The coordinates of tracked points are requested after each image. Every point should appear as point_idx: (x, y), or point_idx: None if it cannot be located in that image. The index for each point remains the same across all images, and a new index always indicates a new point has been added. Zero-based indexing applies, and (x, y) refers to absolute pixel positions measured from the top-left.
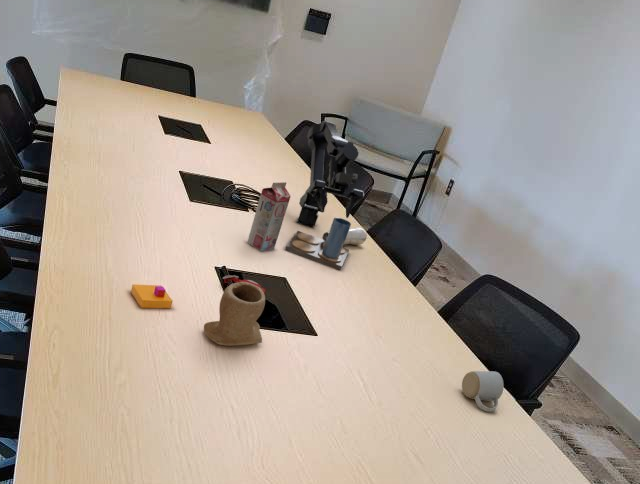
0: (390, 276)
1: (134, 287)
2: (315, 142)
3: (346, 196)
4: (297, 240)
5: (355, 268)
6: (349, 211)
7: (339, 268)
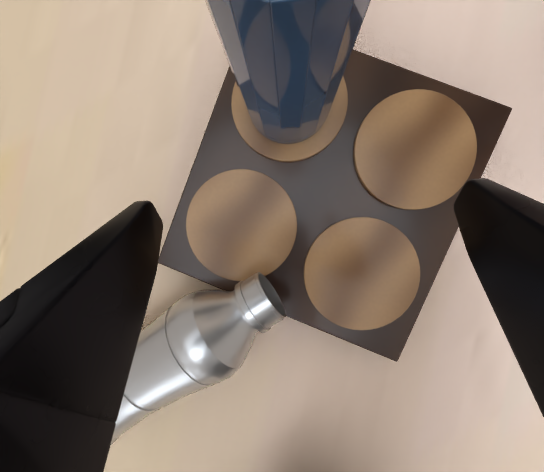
0: (14, 100)
1: None
2: None
3: None
4: (429, 221)
5: (168, 96)
6: (99, 241)
7: None
